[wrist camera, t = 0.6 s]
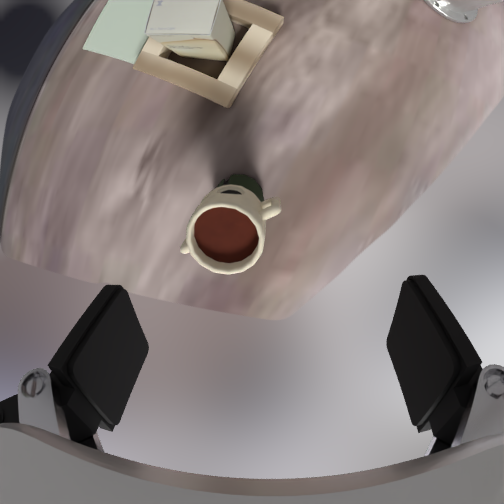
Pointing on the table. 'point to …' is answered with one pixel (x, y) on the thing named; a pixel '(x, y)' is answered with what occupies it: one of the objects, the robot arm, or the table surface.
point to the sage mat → (120, 30)
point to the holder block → (236, 69)
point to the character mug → (230, 226)
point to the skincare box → (192, 28)
